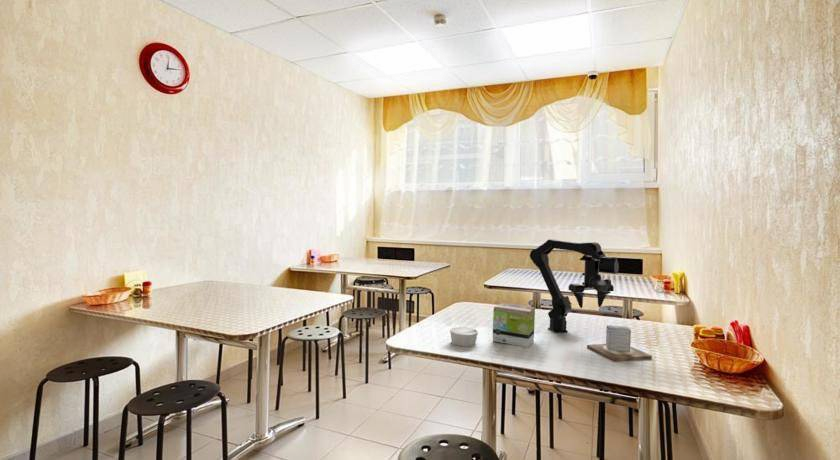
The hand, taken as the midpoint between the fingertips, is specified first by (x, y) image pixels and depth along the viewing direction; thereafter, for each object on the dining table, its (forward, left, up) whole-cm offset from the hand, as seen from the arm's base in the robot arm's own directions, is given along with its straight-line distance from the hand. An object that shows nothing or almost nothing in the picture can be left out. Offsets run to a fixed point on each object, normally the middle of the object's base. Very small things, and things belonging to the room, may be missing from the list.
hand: (590, 307), depth 183 cm
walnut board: (-3, -21, -13) cm, 25 cm away
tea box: (-36, 0, -13) cm, 38 cm away
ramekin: (-57, +2, -13) cm, 59 cm away
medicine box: (-3, -21, -12) cm, 24 cm away
